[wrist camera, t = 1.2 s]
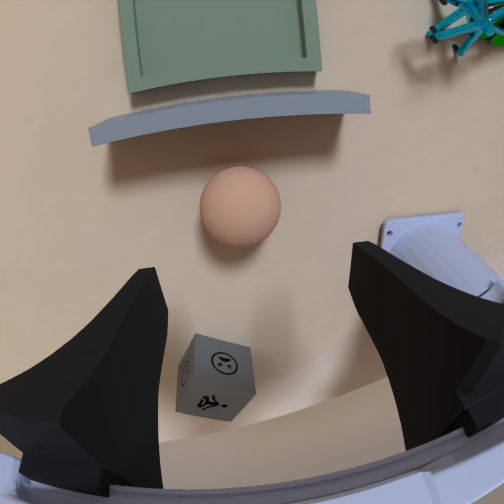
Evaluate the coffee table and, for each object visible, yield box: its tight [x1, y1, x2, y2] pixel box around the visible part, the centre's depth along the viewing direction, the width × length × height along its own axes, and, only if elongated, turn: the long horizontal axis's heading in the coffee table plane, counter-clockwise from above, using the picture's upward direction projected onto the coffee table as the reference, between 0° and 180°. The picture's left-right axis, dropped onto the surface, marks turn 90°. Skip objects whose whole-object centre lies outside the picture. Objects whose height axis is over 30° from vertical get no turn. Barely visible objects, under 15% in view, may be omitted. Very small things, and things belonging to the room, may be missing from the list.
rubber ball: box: [200, 166, 281, 247], centre depth 18 cm, size 4×4×4 cm
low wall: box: [88, 90, 370, 147], centre depth 15 cm, size 1×14×4 cm, turn 96°
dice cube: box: [176, 333, 256, 422], centre depth 25 cm, size 5×5×5 cm
